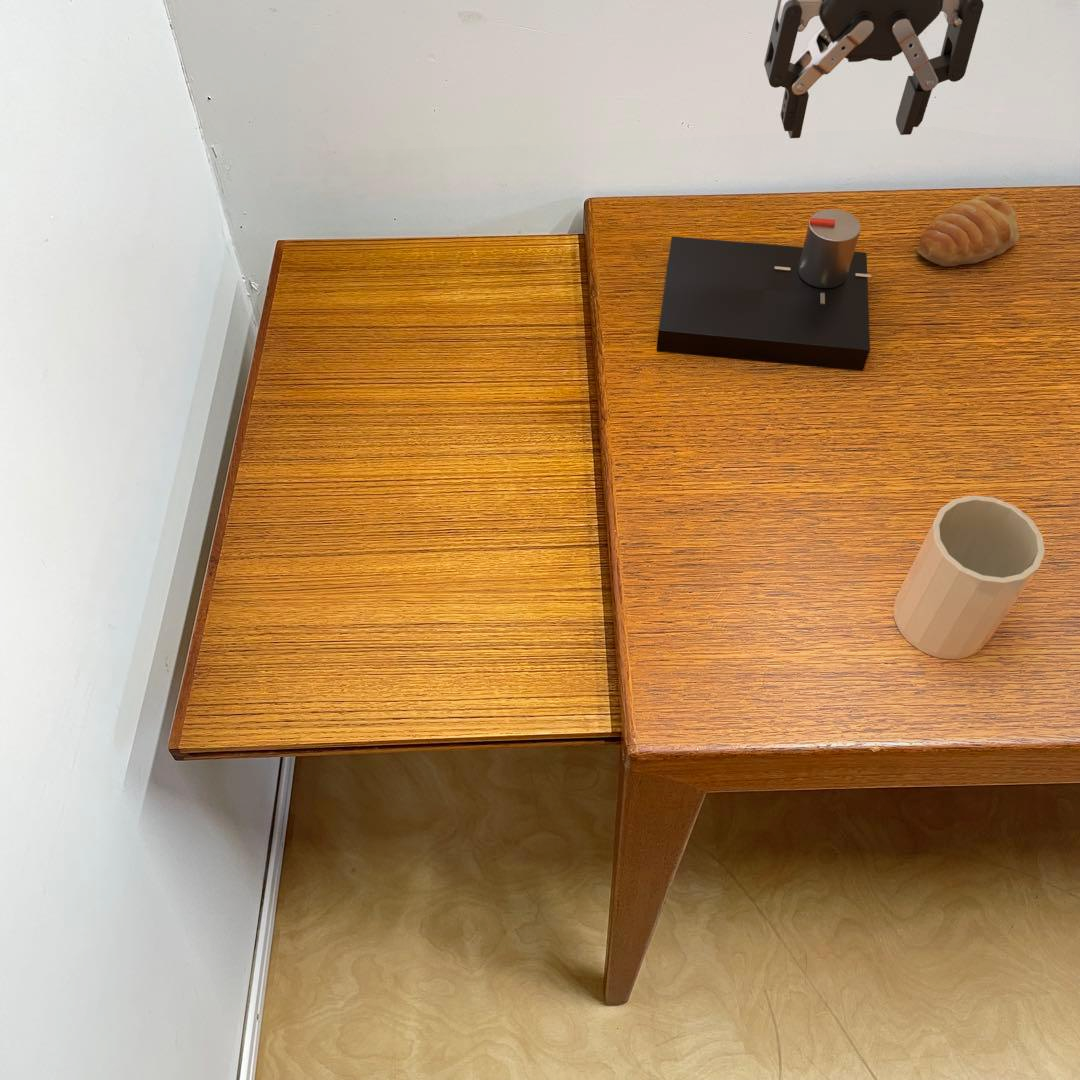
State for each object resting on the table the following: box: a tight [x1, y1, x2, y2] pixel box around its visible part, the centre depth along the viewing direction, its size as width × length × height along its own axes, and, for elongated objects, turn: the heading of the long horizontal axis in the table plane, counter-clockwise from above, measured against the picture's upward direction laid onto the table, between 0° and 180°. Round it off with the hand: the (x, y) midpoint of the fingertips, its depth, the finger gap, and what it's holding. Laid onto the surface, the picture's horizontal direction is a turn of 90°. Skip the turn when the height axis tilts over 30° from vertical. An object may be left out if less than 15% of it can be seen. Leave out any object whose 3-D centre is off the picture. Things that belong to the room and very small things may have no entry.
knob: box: [798, 208, 862, 288], centre depth 88 cm, size 4×4×6 cm
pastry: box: [917, 193, 1020, 268], centre depth 94 cm, size 9×7×4 cm
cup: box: [892, 494, 1046, 660], centre depth 67 cm, size 7×7×10 cm
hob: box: [656, 235, 872, 372], centre depth 90 cm, size 18×14×3 cm
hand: (847, 130), depth 77 cm, fingers open, 8 cm apart
